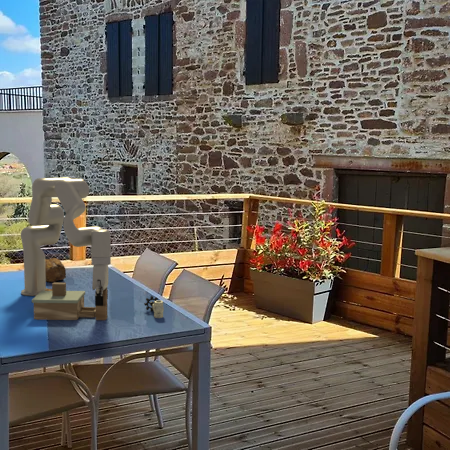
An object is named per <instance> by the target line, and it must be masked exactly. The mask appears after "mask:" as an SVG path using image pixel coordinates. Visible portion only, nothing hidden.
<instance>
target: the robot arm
mask: <svg viewBox="0 0 450 450" xmlns="http://www.w3.org/2000/svg"><path fill="white" fill-rule="evenodd" d="M31 191H32V193H31V194H32V198H31V203H30V206H29V211H28V218H27V219H28V223H29V224H30V225H29V226H26V227H24V228H23V229H22V230H21V231H20V232H21V233H20V239H21V244H22V252H23V271H24V272H23V276H24V277H23V279H24V282H23V283H24V288H23V289H22V290H21V291H20V294H21V295H22V296H26V297H28V296H29V297H35V296H36V295H38V294H39V293H40V292H41V291H45V290H46V289H49V288H47V283H46V282H47V281H46V267H45V259H46V255H45V252H44V250H43V249H42V248H41V246H42V247H43V246H48V245H54V244H56V243H58V242H59V239H60V237H61V233H62V229H63V232H64V234H65V237H66V238H67V239H68V241H69V244H71V245H72V246H74V247H77V248H81V247H88V246H89V247H90V246H91V247H90V248H91V249H90V252H91V253H90V254H91V260H90V261H91V265H92V266H93V267H92V285H91V286H92V290H93V291H95V293H94V305H95V306H94V307H96V306H103V290H104V289H107V300H108V299H109V298H108V295H109V294H108V293H109V290H108V285H109V266H110V265H111V264H112V263H111V262H112V260H111V256H112V255H111V253H112V251H111V242H112V241H111V231H110V230H109V229H105V228H102V227H100V226H85V227H84V226H83V227H77V226H76V224H75V223H74V220H75V219H77V218H78V217H80V216H81V215H83V214H84V213H85V211H86V208H87V206H86V203H85V202H84V199H85V198H87V197H88V196H89V193H90V187H89V185H88V183H87V182H86V180H84V179H82V178H75V177H41V178H40V177H38V178H36V179H34V180H33V182H32V187H31ZM53 198H57V199H58V200H59V202H60V204H61V205H59V204H54V203H53V202H52V201H53ZM52 203H53V204H52Z"/></svg>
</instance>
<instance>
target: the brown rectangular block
mask: <svg viewBox="0 0 450 450" xmlns="http://www.w3.org/2000/svg"><path fill="white" fill-rule="evenodd" d="M107 290H108V288H107V289H104V290H103V306H95V307H96V317H95V321H106V320H107V319H108V299H107Z"/></svg>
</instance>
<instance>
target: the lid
mask: <svg viewBox="0 0 450 450" xmlns="http://www.w3.org/2000/svg"><path fill="white" fill-rule="evenodd" d="M51 287H52V288H51V289H52V291H41V292H40V293H39V294H38V295H37V296H33V298H32V299H31V303H33V304H34V303H78V302H79V301H80V300H81V298H82V297H83V296H84V297H85V295H86V290H67V283H66V282H52V283H51Z"/></svg>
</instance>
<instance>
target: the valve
mask: <svg viewBox="0 0 450 450" xmlns="http://www.w3.org/2000/svg"><path fill="white" fill-rule="evenodd" d="M154 297H155V296H153V295H151V296H150V298H148V297H146V298H145V301H146V302H144V303H143V305H144V306H146V308H145V309H146V310H147V311H149V310H150V311H151V312H153V317H154V318H155V319H162V318H164V312H165V310H164V309H165V307H164V301H163V300H159V298H158V297H157V296H156V297H155V298H154ZM150 306H151V307H150Z"/></svg>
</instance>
